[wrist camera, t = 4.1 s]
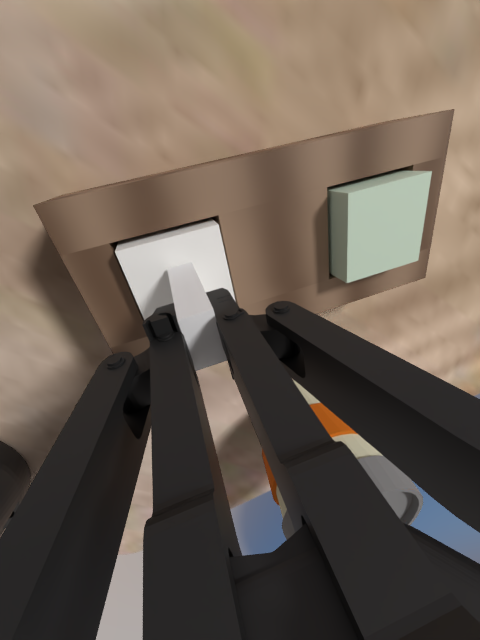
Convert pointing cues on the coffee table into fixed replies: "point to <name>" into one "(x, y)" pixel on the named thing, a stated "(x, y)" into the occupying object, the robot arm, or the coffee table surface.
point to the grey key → (173, 261)
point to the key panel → (246, 220)
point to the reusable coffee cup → (378, 467)
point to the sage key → (376, 223)
